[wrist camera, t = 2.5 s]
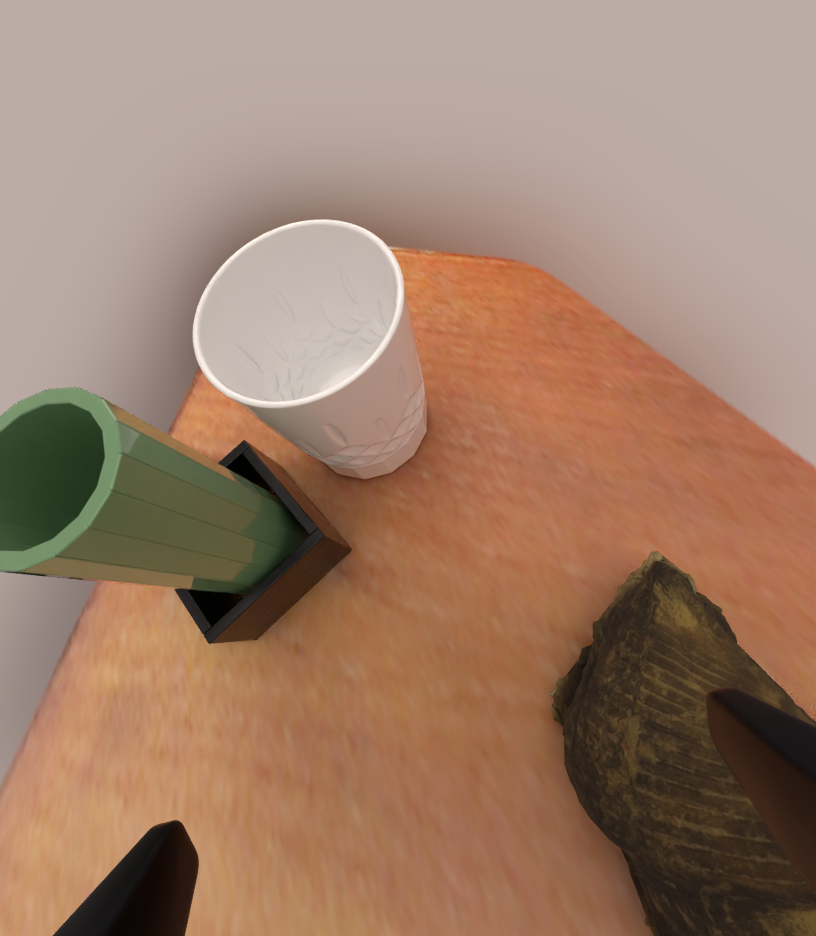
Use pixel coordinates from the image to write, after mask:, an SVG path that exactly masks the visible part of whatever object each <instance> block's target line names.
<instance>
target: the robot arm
mask: <svg viewBox="0 0 816 936" xmlns="http://www.w3.org/2000/svg"><path fill="white" fill-rule="evenodd" d="M706 702H707V712H708V722H709V731H710V735H711V738H712V740H713V742H714V744H715V746H716V748H717V750H718V751H719V753H720V754H721V756H722V757H723V759H724V760H725V762H726V763H727V765H728V766H729V768H730V770H731V771H732V773H733V774H734V776H735V777H736V779H737V780H738V782H739V783H740V785H741V787H742V788H743V790H744V791H745V793H746V794H747V796H748V797H749V799H750V800H751V802H752V803H753V805H754V807H755V808H756V810H757V811H758V813H759V814H760V816H761V817H762V819H763V820H764V822H765V824H766V825H767V827H768V828H769V830H770V831H771V833H772V834H773V836H774V837H775V839H776V840H777V842H778V843H779V845H780V846H781V848H782V849H783V851H784V852H785V854H786V855H787V857H788V858H789V859H790V861H791V862H792V863H793V865H794V866H795V868H796V869H797V870H798V872H799V873H800V874H801V876H802V877H803V878H804V880H805V881H806V882H807V884H808V885H809V886H810V887H811V889H812V890H813V891H814V893H815V894H816V726H814V725H812V724H810V723H808V722H805V721H803V720H801V719H799V718H797V717H795V716H793V715H791V714H789V713H787V712H785V711H783V710H781V709H779V708H777V707H775V706H773V705H771V704H769V703H767V702H764V701H762V700H760V699H758V698H756V697H754V696H752V695H750V694H748V693H746V692H744V691H742V690H740V689H737V688H734V687H726V688H722V689H718V690H714V691H710V692H708V694H707V696H706ZM198 866H199V860H198V854H197V851H196V849H195V847H194V845H193V843H192V841H191V839H190V837H189V835H188V833H187V832H186V830H185V828H184V826H183V824H182V823H181V822H180V821H178V820H174V821H170V822H166V823H162V824H158V825H156V826H154V827H152V828H151V829H150V830H149V831H148V832H147V833H146V834H145V835H144V836H143V837H142V838H141V840H140V841H139V842H138V843H137V844H136V845H135V846H134V847H133V848H132V849H131V850H130V852H129V853H128V854H127V855H126V856H125V857H124V858H123V859H122V860H121V861H120V863H119V864H118V865H117V866H116V867H115V868H114V869H113V870H112V871H111V872H110V874H109V875H108V876H107V877H106V878H105V879H104V880H103V881H102V882H101V883H100V884H99V886H98V887H97V888H96V889H95V890H94V891H93V892H92V893H91V894H90V895H89V897H88V898H87V899H86V900H85V901H84V902H83V903H82V904H81V905H80V906H79V908H78V909H77V910H76V911H75V912H74V913H73V914H72V915H71V916H70V917H69V919H68V920H67V921H66V922H65V923H64V924H63V925H62V926H61V927H60V928H59V929H58V931H57V932H56V933H55V934H54V935H53V936H185V932H186V927H187V923H188V918H189V913H190V908H191V903H192V899H193V894H194V889H195V884H196V879H197V874H198Z"/></svg>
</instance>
